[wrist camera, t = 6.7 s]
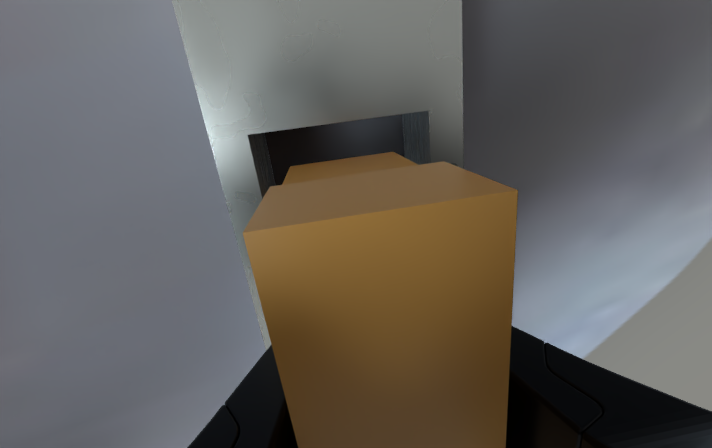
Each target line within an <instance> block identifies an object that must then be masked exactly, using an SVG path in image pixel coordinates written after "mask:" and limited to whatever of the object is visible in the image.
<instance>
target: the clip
mask: <svg viewBox="0 0 712 448" xmlns="http://www.w3.org/2000/svg"><path fill="white" fill-rule="evenodd" d="M517 199H518V190H516V189H514V188H511V187H509V186H506V185H503V184H501V183H498V182H496V181H493V180H491V179H488V178H485V177H483V176H480V175H478V174H475V173H473V172H470V171H468V170H465V169H462V168H460V167H457V166H455V165H452V164H450V163H447V162H444V161H442V162H435V163H428V164H421V165H418V164H416V163H414V162H412V161H410V160H408V159H406V158H404V157H403V156H401V155H399V154H397V153H395V152H387V153H380V154H373V155H366V156H359V157H352V158H345V159H338V160H331V161H324V162H317V163H310V164H303V165H295V166H290V168H289V170H288V172H287V175H286V177H285V179H284V182H283V184H282V185H277V186H270V187H269V189H268V191H267V192H266V194H265V196H264V197H263V199H262V201H261V202H260V204H259V206H258V208H257V209H256V211H255V213H254V214H253V216H252V218H251V219H250V221H249V223H248V224H247V226H246V228H245V229H244V231H243V236H244V240H245V244H246V248H247V252H248V256H249V260H250V263H251V267H252V271H253V275H254V279H255V283H256V287H257V290H258V294H259V298H260V302H261V306H262V310H263V314H264V317H265V321H266V325H267V329H268V333H269V337H270V341H271V344H272V348H273V352H274V356H275V360H276V364H277V368H278V371H279V375H280V379H281V383H282V387H283V391H284V395H285V398H286V402H287V406H288V410H289V414H290V418H291V422H292V425H293V429H294V433H295V437H296V441H297V445H298V448H506V429H507V408H508V387H509V366H510V345H511V325H512V304H513V283H514V262H515V241H516V220H517Z"/></svg>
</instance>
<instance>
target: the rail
mask: <svg viewBox="0 0 712 448" xmlns="http://www.w3.org/2000/svg"><path fill="white" fill-rule="evenodd" d="M172 3H173V6H174V10H175V14H176V17H177V21H178V25H179V29H180V32H181V36H182V40H183V43H184V47H185V51H186V55H187V58H188V62H189V66H190V69H191V73H192V77H193V81H194V84H195V88H196V92H197V95H198V99H199V103H200V107H201V110H202V114H203V118H204V121H205V125H206V129H207V133H208V136H209V140H210V144H211V147H212V151H213V155H214V159H215V162H216V166H217V170H218V173H219V177H220V181H221V185H222V188H223V192H224V196H225V199H226V203H227V207H228V211H229V214H230V218H231V222H232V225H233V229H234V233H235V237H236V240H237V244H238V248H239V251H240V255H241V259H242V263H243V266H244V270H245V274H246V277H247V281H248V285H249V289H250V292H251V296H252V300H253V303H254V307H255V311H256V315H257V318H258V322H259V326H260V329H261V333H262V337H263V341H264V344H265V348H266V351H267V349H268V348H269V347H270V345H271V341H270V337H269V333H268V329H267V325H266V321H265V317H264V314H263V310H262V306H261V302H260V298H259V294H258V290H257V287H256V283H255V279H254V275H253V271H252V267H251V263H250V260H249V256H248V252H247V248H246V244H245V240H244V236H243V231H244V229H245V228H246V226H247V224H248V223H249V221H250V219H251V218H252V216H253V214H254V213H255V211H256V209H257V208H258V206H259V204H260V202H261V201H262V199H263V197H264V196H265V194H266V192H267V191H268V189H269V187H270V186H276V184H275V180H274V175H273V170H272V165H271V161H270V156H269V151H268V147H267V142H266V137H265V132H272V131H280V130H287V129H295V128H302V127H309V126H317V125H324V124H332V123H339V122H347V121H354V120H362V119H369V118H376V117H384V116H391V115H399V114H402V124H403V138H404V152H405V158H406V159H408V160H410V161H412V162H414V163H416V164H418V165H421V164H428V163H435V162H442V161H444V162H447V163H450V164H452V165H455V166H457V167H460V168H462V169H464V154H463V54H462V0H172Z"/></svg>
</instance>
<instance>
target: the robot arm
mask: <svg viewBox="0 0 712 448" xmlns="http://www.w3.org/2000/svg"><path fill="white" fill-rule="evenodd" d="M187 448H298V445H297V441H296V437H295V433H294V429H293V425H292V422H291V418H290V414H289V410H288V406H287V402H286V398H285V395H284V391H283V387H282V383H281V379H280V375H279V371H278V368H277V364H276V360H275V356H274V352H273V348H272V344H271V345H270V347H269V348H268V349H267V351H266V352H265V353H264V354H263V356H262V357H261V358H260V359H259V361H258V362H257V363H256V364H255V366H254V367H253V368H252V369H251V371H250V372H249V373H248V374H247V376H246V377H245V378H244V379H243V381H242V382H241V383H240V384H239V386H238V387H237V388H236V389H235V391H234V392H233V393H232V394H231V396H230V397H229V398H228V399H227V401H226V402H225V405H223V406H222V407H221V408H220V409H219V411H218V412H217V413H216V414H215V416H214V417H213V418H212V419H211V421H210V422H209V423H208V424H207V425H206V426H205V428H204V429H203V430H202V431H201V432H200V434H199V435H198V436H197V437H196V438H195V440H194V441H193V442H192V443H191V444H190V445H189V446H188V447H187ZM506 448H712V411H709V410H706V409H703V408H701V407H698V406H696V405H693V404H691V403H688V402H686V401H683V400H681V399H678V398H676V397H673V396H671V395H668V394H666V393H663V392H660V391H658V390H656V389H653V388H651V387H648V386H646V385H643V384H641V383H638V382H636V381H633V380H631V379H628V378H626V377H623V376H621V375H619V374H616V373H614V372H611V371H609V370H607V369H604V368H602V367H599V366H597V365H595V364H592V363H589V362H587V361H585V360H583V359H581V358H579V357H577V356H574V355H572V354H570V353H568V352H566V351H563V350H561V349H559V348H557V347H555V346H553V345H551V344H549V343H545V344H544V341H542V340H540V339H538V338H536V337H534V336H532V335H530V334H528V333H526V332H524V331H521V330H519V329H517V328H515V327H513V326H511V345H510V366H509V387H508V408H507V429H506Z"/></svg>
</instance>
